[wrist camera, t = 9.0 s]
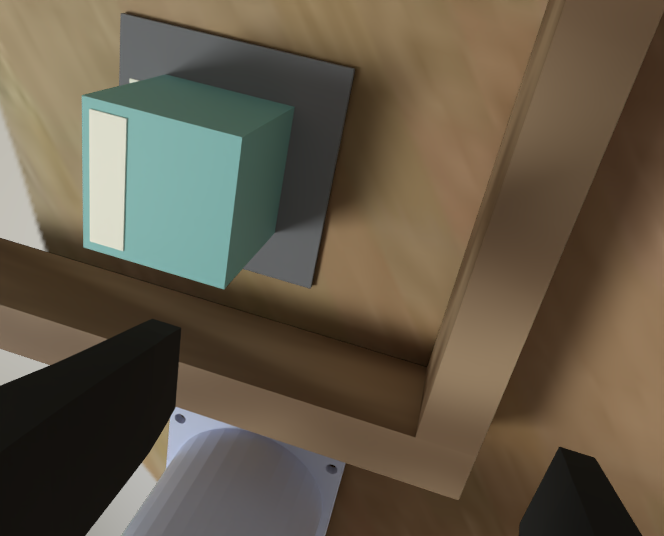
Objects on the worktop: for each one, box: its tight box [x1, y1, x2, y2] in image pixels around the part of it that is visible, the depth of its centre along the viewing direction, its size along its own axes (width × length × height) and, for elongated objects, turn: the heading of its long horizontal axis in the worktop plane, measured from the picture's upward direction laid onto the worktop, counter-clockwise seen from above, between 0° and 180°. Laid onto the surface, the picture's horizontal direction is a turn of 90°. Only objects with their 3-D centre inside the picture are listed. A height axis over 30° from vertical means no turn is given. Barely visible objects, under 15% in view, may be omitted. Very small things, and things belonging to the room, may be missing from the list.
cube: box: [82, 74, 295, 289], centre depth 18 cm, size 5×5×5 cm
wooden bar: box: [0, 238, 477, 500], centre depth 22 cm, size 2×22×4 cm, turn 79°
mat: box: [119, 13, 355, 288], centre depth 20 cm, size 8×8×1 cm
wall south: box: [415, 0, 664, 457], centre depth 17 cm, size 18×2×4 cm, turn 169°
